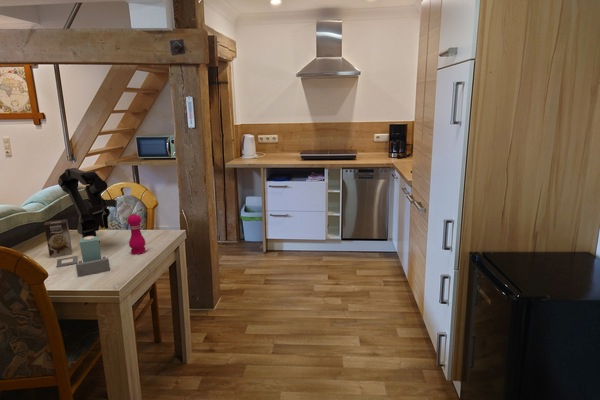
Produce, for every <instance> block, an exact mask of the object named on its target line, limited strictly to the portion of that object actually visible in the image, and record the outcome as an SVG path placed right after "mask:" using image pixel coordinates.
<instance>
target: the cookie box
mask: <svg viewBox="0 0 600 400" xmlns="http://www.w3.org/2000/svg"><path fill="white" fill-rule="evenodd" d="M43 224H44V232H45V237H46V243H47V248H48V255H49V258H50V259H53V258H57V257H62V256H69V255H73V254H72V253H73V248H72V247H73V246H72V241H71V237H70V229H69V223H68V218H67V219H59V220H58V219H57V220H51V221H45V222H44V223H43Z"/></svg>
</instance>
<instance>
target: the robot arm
mask: <svg viewBox="0 0 600 400" xmlns="http://www.w3.org/2000/svg"><path fill="white" fill-rule="evenodd" d="M79 183H80V184H82V185H83V186H85V187H84V192H85V193H86V196H87V198H88V200H87V202H88V203H89V205H90V207H88V208H87V205H86V203H85V200H84V199H83V197H82V195H81V193H80V191H79V185H80V184H79ZM57 184H58V186H59V187H60V189H61V190H62V191H63V192H64V193H66V194H68V196H69V198H70V200H71V202H72V204H73V206H74V209H75V211H76V213H77V214H78V217H79V218H78V225H77V228H76V231H77V234H80V235H81V236H82V237H81V239H82V238H84V237H87V236H98V235H97V233H96V232H98V231H100V228H101V229H103V228H104V229H105V230H108V229H109V217H110V216H111V214H112V213H111V209H109V208H117V207H118V200H117V199H115V198H111V199H105V198H104V197H103V196H102V193H103V192H105V191H107V189H108V182H106V181H105V179H104V180H103V179H102V177H100V176H99V174H98V173H97V172H96V171H94V170H92V171H90V170H89V171H84V170H81V169H78V168H76V167H72V168H71V167H70V168H66V169H65V170H64V172H63V173H61V175H60V176H59V177H58V180H57ZM108 207H109V208H108ZM100 242H101V240H99V243H100Z"/></svg>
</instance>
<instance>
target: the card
mask: <svg viewBox="0 0 600 400" xmlns="http://www.w3.org/2000/svg"><path fill="white" fill-rule="evenodd" d="M77 263H79V261H78V255H76V256H75V255H74V256H70V257H69V256H68V257H64V258H58V259H57V260H56V268H63V267H68V266H73V265H76V264H77Z"/></svg>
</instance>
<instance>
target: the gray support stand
mask: <svg viewBox="0 0 600 400" xmlns="http://www.w3.org/2000/svg"><path fill="white" fill-rule="evenodd" d="M110 267H111V265H110V261H109V257H106V256H101V259H99V260H93V261H88V262H83V260H79V261H78V263H77V264H75V268H76V269H75V270H76V275H77V278H82V277H86V276H90V275H96V274H100V273H105V272H110V271H111V268H110Z"/></svg>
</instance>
